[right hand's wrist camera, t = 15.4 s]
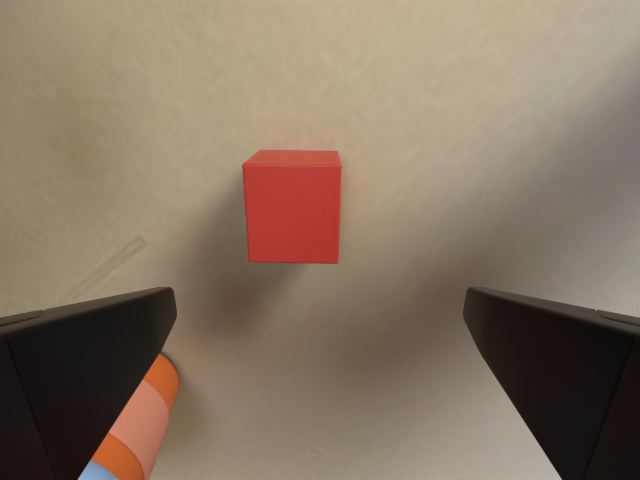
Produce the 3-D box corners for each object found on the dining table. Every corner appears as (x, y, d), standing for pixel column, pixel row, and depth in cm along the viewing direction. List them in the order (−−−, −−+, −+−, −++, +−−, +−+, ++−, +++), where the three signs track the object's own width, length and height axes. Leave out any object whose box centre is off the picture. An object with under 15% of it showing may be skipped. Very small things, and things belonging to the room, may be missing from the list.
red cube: (263, 230, 24) (248, 262, 19) (259, 150, 22) (242, 163, 17) (335, 231, 23) (338, 264, 19) (337, 150, 22) (341, 164, 17)
